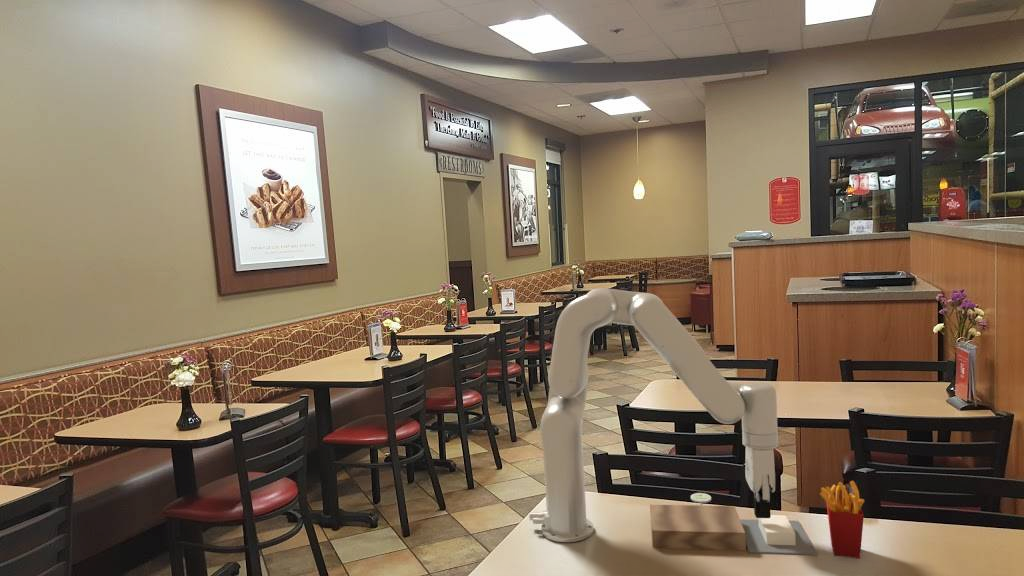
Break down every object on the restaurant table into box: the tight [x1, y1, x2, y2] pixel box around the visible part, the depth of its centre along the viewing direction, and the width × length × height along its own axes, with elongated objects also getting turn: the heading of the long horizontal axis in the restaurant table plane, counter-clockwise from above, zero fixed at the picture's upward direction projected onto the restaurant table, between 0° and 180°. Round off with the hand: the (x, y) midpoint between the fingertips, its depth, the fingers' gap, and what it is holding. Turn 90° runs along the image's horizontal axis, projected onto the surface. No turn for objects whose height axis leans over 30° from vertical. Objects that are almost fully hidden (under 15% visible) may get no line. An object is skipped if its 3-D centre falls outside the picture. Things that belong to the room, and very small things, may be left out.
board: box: [649, 504, 747, 551], centre depth 147 cm, size 20×14×4 cm
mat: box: [740, 518, 819, 556], centre depth 144 cm, size 14×16×1 cm
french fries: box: [819, 480, 865, 559], centre depth 136 cm, size 9×8×15 cm
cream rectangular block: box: [757, 514, 796, 545], centre depth 143 cm, size 6×9×3 cm, turn 169°
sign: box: [690, 492, 712, 506], centre depth 162 cm, size 5×1×15 cm
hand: (762, 516), depth 144 cm, fingers closed
